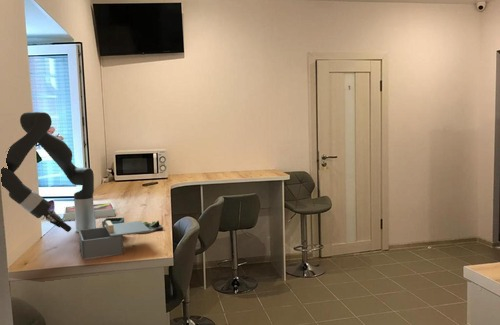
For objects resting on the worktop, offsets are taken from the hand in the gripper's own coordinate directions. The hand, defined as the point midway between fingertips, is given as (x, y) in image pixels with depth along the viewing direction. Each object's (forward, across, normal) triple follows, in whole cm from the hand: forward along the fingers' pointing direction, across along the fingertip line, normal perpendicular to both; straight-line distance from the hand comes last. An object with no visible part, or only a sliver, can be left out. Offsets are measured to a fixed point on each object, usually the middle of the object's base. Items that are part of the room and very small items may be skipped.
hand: (69, 230), depth 174 cm
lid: (+18, 0, -15) cm, 23 cm away
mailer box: (+16, 0, -1) cm, 16 cm away
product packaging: (+19, +82, -2) cm, 84 cm away
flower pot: (+22, +20, -7) cm, 31 cm away
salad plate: (+35, +28, -18) cm, 48 cm away
